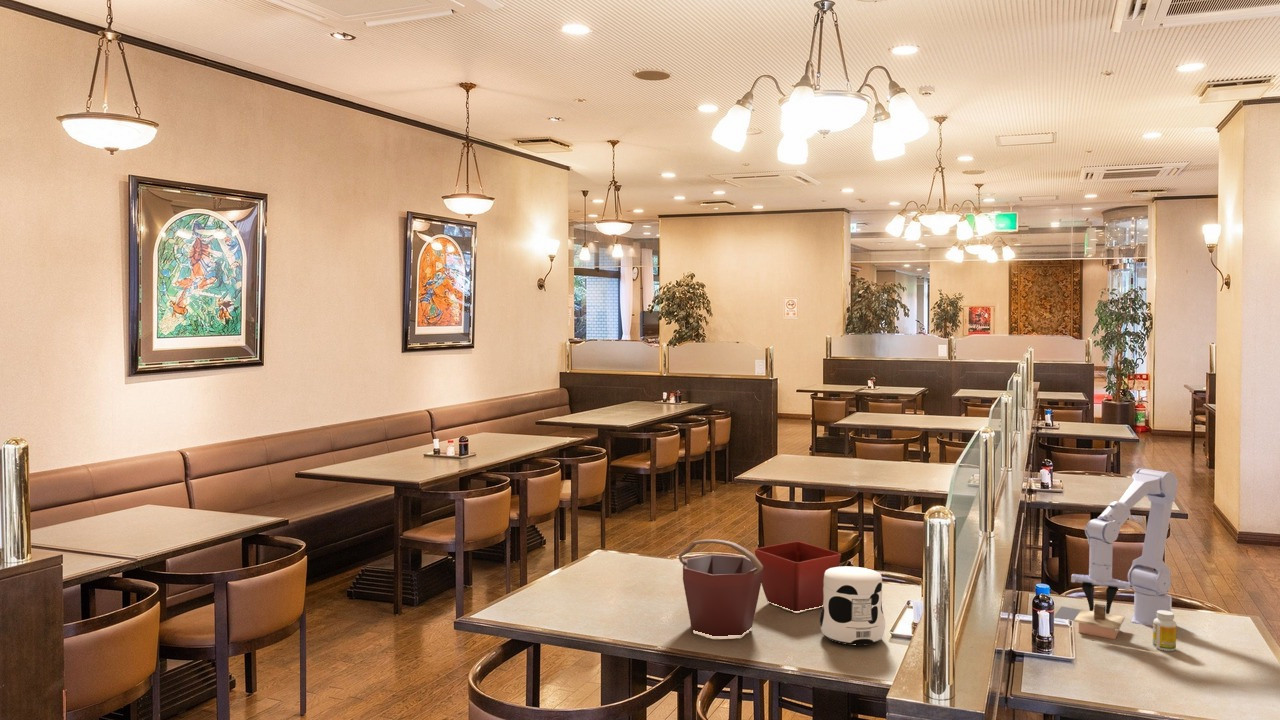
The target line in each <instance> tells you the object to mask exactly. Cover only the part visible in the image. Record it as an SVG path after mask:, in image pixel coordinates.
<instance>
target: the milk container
mask: <svg viewBox="0 0 1280 720" xmlns="http://www.w3.org/2000/svg"><path fill="white" fill-rule="evenodd" d="M823 592H824V601H823V607H822V608H821V611H820V614H819V625H820V631H821V632H822V635H824V637H825V638H826V639H828V638H829V639H828V640H830V639H831V641H832V640H833V642H835V641H836V643H838V642H840V643H839V644H841V643H846V644H845V645H847V644H856V645H855V646H865V645H864V644H869V645H872V643H873V644H876V643H878V642H879V641H881V640H882V638H884V635H885V630H886V619H885V614H884V611H883V605H882V604H883V577H882V574H881V573H880V572H878V571H876V570H873V569H869V568H866V567H859V566H848V565H847V566H846V565H845V566H839V567H834V568H830V569H827V570H826V571H825V574H824V587H823ZM875 642H876V643H875Z"/></svg>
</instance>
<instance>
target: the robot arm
mask: <svg viewBox="0 0 1280 720" xmlns="http://www.w3.org/2000/svg"><path fill="white" fill-rule="evenodd" d="M1178 486H1179V480H1178V479H1177V477H1176V475H1175V474H1174V473H1173V472H1171V471H1161V470H1155V469H1148V468H1145V467H1139V468H1136V471H1134V473H1133V474H1132V476H1131V484H1130V485H1129V487H1128V488H1127V489H1126V490H1125V492H1124V493H1123V494H1122V496H1121V497H1120V499H1119V500H1118V501H1112V502H1110V503H1109V504H1108V506H1107V507H1106V508H1105V509H1104V510H1103V511H1102V512H1101V514H1100V515H1099V516H1097V518H1093V519H1090V520H1089V521H1088V522H1087V524H1086V527H1085V529H1084V533H1085V536H1086V538H1087V543H1088V545H1089V551H1088V553H1089V554H1088V555H1089V556H1088V557H1089V558H1088V559H1089V560H1088V561H1089V562H1088V564H1089V565H1088V574H1077V573H1072V574H1071V576H1070V577H1071V578H1070V582H1071V583H1080V584H1081V589H1082V591H1083V593H1084V595H1085V598H1086V600H1087V602H1088V607H1089V611H1094V606H1095V604H1094V603H1095V602H1094V594H1095V586H1098V587H1099V586H1100V587H1106V591H1105V592H1106V593H1105V594H1106V596H1105V597H1106V614H1110V612H1111V607H1112V604H1113V601H1114V600H1115V596H1116V594H1117V593H1118V590H1119V589H1120V590H1123V591H1129V592H1130V590H1131V589H1132V590H1134V595H1133V596H1134V597H1133V598H1134V599H1133V600H1134V601H1133V605H1134V606H1133V616H1132V617H1131V620H1130V623H1133V624H1137V625H1138V624H1140V625H1145V626H1150V627H1153V621H1154V619H1155V618H1158V617H1157V616H1156V615H1157V611H1158V610H1165V611H1170V612H1172V604H1173V603H1172V602H1173V601H1172V600H1173V599H1172V595H1170V594H1168V592H1169V590H1170V588H1171V585H1172V580H1171V572H1172V571H1171V568H1170V567H1169V566H1168V565H1167V563H1166V562H1165V561H1164V560H1163V559H1164V554H1165V547H1166V542H1167V537H1168V530H1169V527H1170V519H1171V514H1172V508H1173V504H1174V502H1176V496H1177V492H1178ZM1144 497H1146V498H1148V501H1149V502H1150V508H1149V514H1148V518H1147V524H1146V530H1145V535H1144V541H1143V547H1142V552H1141V556H1139V557H1137V558H1135V559H1133V560H1132V561H1131V562H1132V564H1131V567H1130V569H1128V572H1127V580H1128V581H1125V580H1120V579H1116V578H1113V558H1114V557H1113V553H1114V552H1113V551H1114V549H1113V548H1114V542H1115V541H1117V539H1118V537H1119V533H1120V531H1121V527H1122V526H1123V525H1124V524H1125V522H1126V521H1127V520H1128V519H1129V518H1131V517H1130V516H1131V509H1132V508H1133V507H1134V506H1135V505H1137V504H1138V503H1139V502H1140V501H1141V500H1142V499H1143V498H1144Z"/></svg>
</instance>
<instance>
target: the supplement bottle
mask: <svg viewBox="0 0 1280 720" xmlns="http://www.w3.org/2000/svg"><path fill="white" fill-rule="evenodd" d="M1156 616H1157V617H1158V618H1155V619H1154V621H1153V626H1152V646H1153V648H1156V650H1159V651H1163V650H1164V651H1165V652H1174V651H1175V650H1176V649H1177V626H1178V624H1177V622H1176V621H1175V620H1174V619H1175V613H1174V612H1172V611H1171V612H1170V611H1165V610H1158V611H1157V615H1156Z"/></svg>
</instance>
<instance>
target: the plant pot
mask: <svg viewBox="0 0 1280 720" xmlns="http://www.w3.org/2000/svg"><path fill="white" fill-rule="evenodd" d="M754 555H755V556H756V557H757V559H758V560H759V561H760V563H761V564H762V565H763V577H762V582H761V587H762V590H763V593H764V596H765V599H766V600H767V602H768V601H769V602H771V603H774V604H777V605H779V606H782V607H785V608H788V609H790V610H793V611H800V610H805V609H809V608H814V607H819V606H822V605H823V601H824V592H823V587H824V574H825V571H826V570H827V569H830V568H834V567H840V562H841V557H842V553H841V552H840V553H839V552H837V551H833V550H831V549H826V548H823V547H820V546H817V545H814V544H810V543H807V542H803V541H798V540H797V541H791V542H786V543H785V542H784V543H780V544H779V543H778V544H774V545H767V546H762V547H756V548H754Z"/></svg>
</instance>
